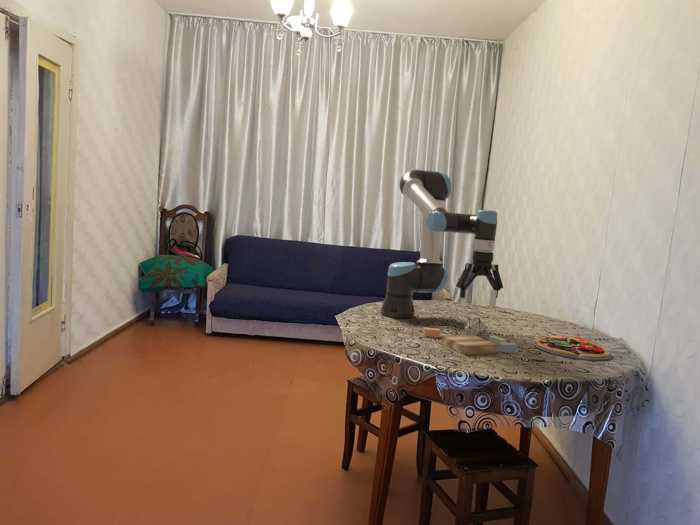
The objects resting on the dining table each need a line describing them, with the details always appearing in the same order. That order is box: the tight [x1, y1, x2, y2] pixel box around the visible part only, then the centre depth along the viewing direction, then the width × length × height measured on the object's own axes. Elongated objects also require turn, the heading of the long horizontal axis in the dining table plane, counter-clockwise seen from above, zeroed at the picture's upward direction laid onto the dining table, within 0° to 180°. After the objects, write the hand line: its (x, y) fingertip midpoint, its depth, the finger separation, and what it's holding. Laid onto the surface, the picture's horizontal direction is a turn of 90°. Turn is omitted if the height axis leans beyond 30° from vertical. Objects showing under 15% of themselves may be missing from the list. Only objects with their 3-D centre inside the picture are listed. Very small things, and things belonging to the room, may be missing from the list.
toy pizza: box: [532, 335, 613, 361], centre depth 215 cm, size 28×28×4 cm
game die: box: [461, 317, 489, 338], centre depth 220 cm, size 9×8×10 cm
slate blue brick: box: [497, 342, 518, 353], centre depth 204 cm, size 6×3×3 cm, turn 106°
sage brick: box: [487, 335, 508, 345], centre depth 213 cm, size 6×3×3 cm, turn 34°
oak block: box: [440, 334, 498, 355], centre depth 203 cm, size 14×14×3 cm
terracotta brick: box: [422, 327, 442, 338], centre depth 218 cm, size 6×3×3 cm, turn 88°
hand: (477, 306), depth 219 cm, fingers open, 13 cm apart
